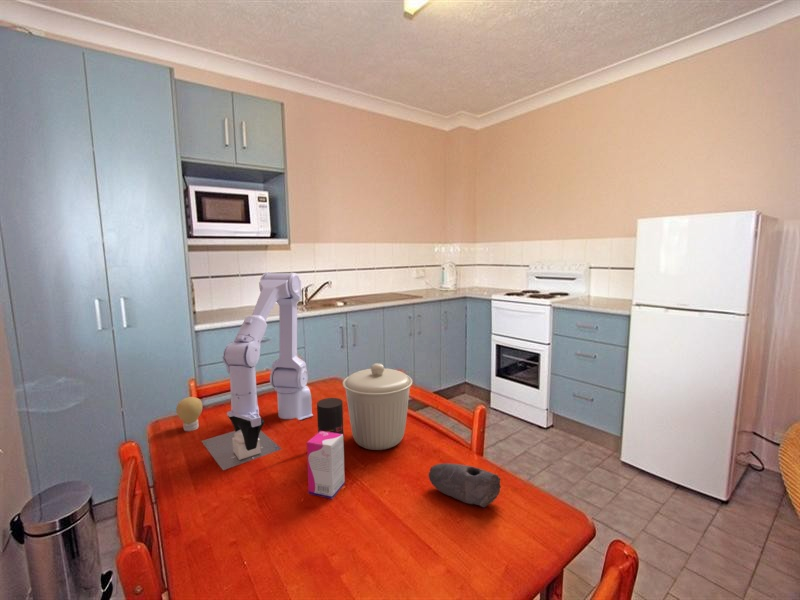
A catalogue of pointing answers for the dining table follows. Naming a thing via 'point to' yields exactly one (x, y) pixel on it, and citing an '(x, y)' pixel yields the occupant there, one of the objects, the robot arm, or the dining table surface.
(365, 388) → the canister
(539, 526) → the dining table surface
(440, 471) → the perforated stone tool
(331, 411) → the deodorant
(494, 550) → the dining table surface
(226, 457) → the panel
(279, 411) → the robot arm
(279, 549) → the dining table surface
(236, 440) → the knob
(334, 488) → the supplement box
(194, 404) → the light bulb
